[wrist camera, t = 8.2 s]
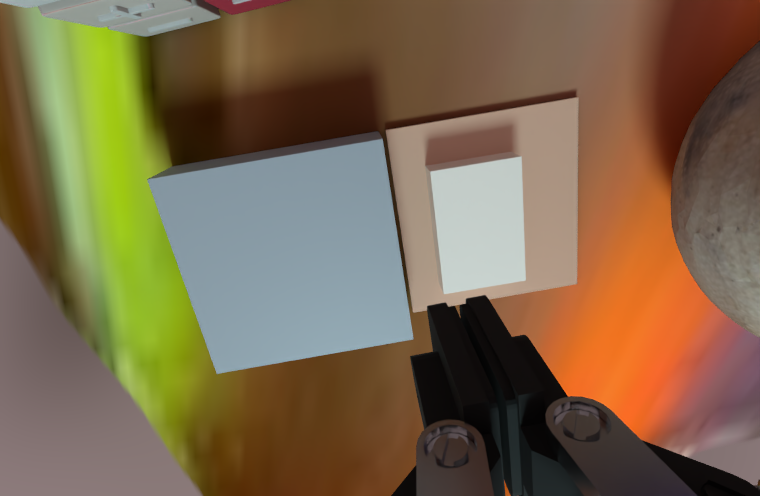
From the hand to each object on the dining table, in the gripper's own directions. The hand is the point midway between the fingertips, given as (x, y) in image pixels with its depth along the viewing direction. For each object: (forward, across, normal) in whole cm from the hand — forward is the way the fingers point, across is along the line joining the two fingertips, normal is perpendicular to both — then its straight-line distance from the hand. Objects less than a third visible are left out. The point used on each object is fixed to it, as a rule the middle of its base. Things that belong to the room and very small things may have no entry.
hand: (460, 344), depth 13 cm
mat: (+20, -7, +4) cm, 21 cm away
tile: (+18, -5, +4) cm, 19 cm away
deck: (+20, +7, +4) cm, 22 cm away
